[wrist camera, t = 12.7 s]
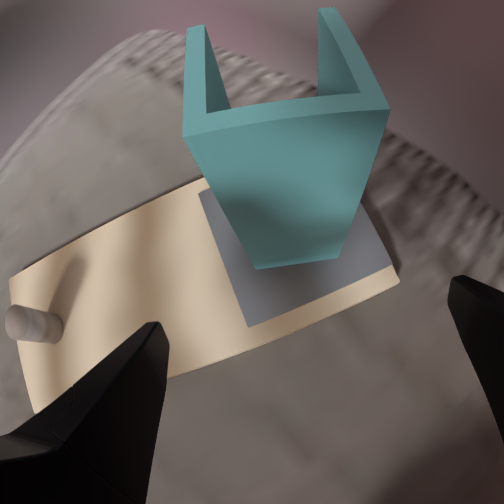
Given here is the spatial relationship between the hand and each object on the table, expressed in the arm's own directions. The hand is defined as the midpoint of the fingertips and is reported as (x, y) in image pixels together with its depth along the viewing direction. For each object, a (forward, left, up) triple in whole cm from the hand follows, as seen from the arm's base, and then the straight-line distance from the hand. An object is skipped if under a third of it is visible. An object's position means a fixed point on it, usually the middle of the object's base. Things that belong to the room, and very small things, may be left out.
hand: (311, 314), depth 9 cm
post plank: (+8, -3, -8) cm, 11 cm away
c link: (0, -5, -7) cm, 8 cm away
